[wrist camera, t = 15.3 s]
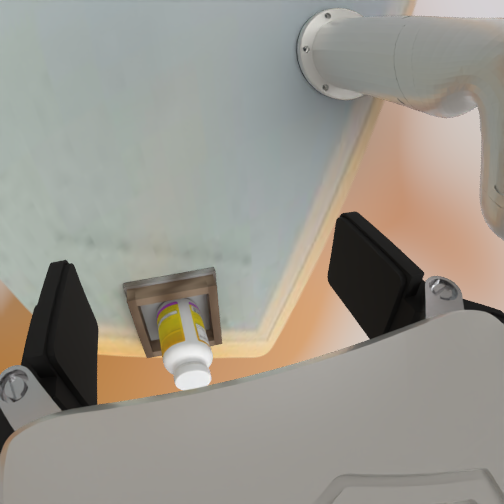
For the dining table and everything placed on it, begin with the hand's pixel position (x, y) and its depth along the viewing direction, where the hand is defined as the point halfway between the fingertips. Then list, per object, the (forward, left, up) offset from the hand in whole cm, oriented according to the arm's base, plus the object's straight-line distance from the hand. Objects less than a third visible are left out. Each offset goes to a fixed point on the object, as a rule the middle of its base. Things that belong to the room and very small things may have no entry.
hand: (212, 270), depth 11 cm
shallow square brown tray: (+2, +28, -28) cm, 40 cm away
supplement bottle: (+2, +28, -27) cm, 39 cm away
